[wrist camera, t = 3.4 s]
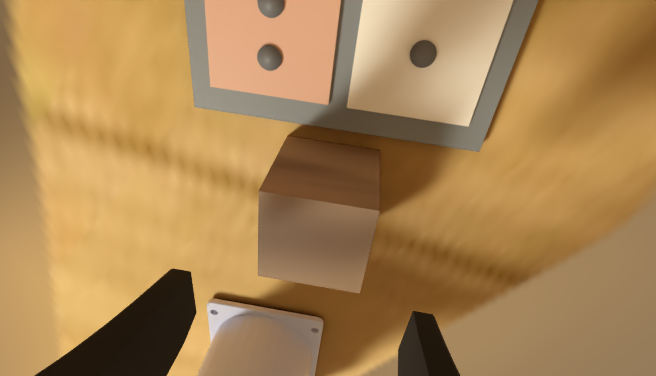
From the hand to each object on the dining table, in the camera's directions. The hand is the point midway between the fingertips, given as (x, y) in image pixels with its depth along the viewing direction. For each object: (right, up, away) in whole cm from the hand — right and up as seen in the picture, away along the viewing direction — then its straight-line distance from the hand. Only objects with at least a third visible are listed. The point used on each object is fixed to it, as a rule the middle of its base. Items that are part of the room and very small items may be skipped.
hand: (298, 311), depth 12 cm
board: (+2, +10, +3) cm, 11 cm away
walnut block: (+1, +4, +7) cm, 8 cm away
